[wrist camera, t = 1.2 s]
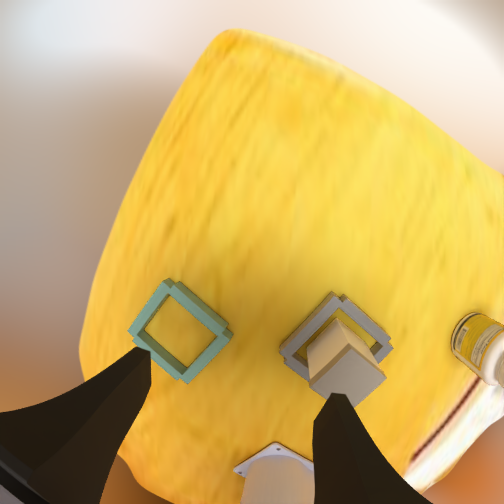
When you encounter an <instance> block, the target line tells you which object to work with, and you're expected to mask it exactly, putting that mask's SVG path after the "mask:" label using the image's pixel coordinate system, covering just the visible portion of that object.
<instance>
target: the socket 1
mask: <svg viewBox="0 0 504 504" xmlns="http://www.w3.org/2000/svg"><path fill="white" fill-rule="evenodd" d="M169 295H171V296H172V297H173V298H174V299H175V300H176V301H177V302H178V303H180V304H181V305H182V306H183V307H184V308H185V309H186V310H187V311H189V312H190V313H191V314H192V315H193V316H194V317H195V318H197V319H198V320H199V321H200V322H201V323H202V324H204V325H205V326H206V327H207V328H208V329H209V330H211V331H212V332H213V333H214V334H215V335H217V337H216V338H215V339H214V340H213V341H212V342H211V343H210V344H209V346H208V347H207V348H206V349H205V350H204V351H203V352H202V353H201V354H200V355H199V356H198V357H197V358H196V360H195V361H194V362H193V363H192V364H191V365H190V366H189V367H188V368H186V367H185V366H184V365H183V364H181V363H180V362H179V361H178V360H177V359H175V358H174V357H173V356H172V355H171V354H170V353H168V352H167V351H166V350H165V349H164V348H163V347H162V346H161V345H159V344H158V343H157V342H156V341H155V340H154V339H153V338H152V337H151V336H150V335H148V334H147V333H146V332H145V331H144V328H145V327H146V326H147V324H148V323H149V322H150V320H151V319H152V317H153V316H154V315H155V313H156V312H157V311H158V309H159V308H160V307H161V305H162V304H163V303H164V301H165V300H166V299H167V297H168V296H169ZM227 325H228V323H227V322H226V321H225V320H223V319H222V318H221V317H220V316H219V315H218V314H216V313H215V312H214V311H213V310H212V309H211V308H209V307H208V306H207V305H206V304H205V303H204V302H202V301H201V300H200V299H199V298H198V297H197V296H196V295H194V294H193V293H192V292H191V291H190V290H189V289H188V288H187V287H185V286H184V285H183V284H182V283H181V282H180V281H179V282H178V283H176V284H175V283H174V282H173V281H172V280H171V279H169V278H168V279H166V280H164V281H162V283H161V284H160V285H159V287H158V288H157V290H156V291H155V292H154V294H153V295H152V297H151V298H150V299H149V301H148V302H147V304H146V305H145V306H144V308H143V309H142V311H141V312H140V313H139V315H138V316H137V318H136V319H135V321H134V322H133V324H132V325H131V326H130V328H129V329H128V332H129V333H130V334H131V335H132V336H133V337H134V339H133V342H134V343H135V344H136V345H137V346H138V347H140V348H142V349H145V350H148V351H151V359H152V360H154V361H155V362H156V363H157V364H158V365H159V366H160V367H162V368H163V369H164V370H165V371H166V372H167V373H169V374H170V375H171V376H172V377H173V378H175V379H176V380H178V379H179V378H180V379H182V380H183V381H184V382H185V383H187V384H188V383H189V382H190V381H191V380H192V379H193V378H194V377H195V376H196V375H197V374H198V373H199V372H200V371H201V370H202V369H203V368H204V367H205V366H206V365H207V364H208V363H209V362H210V361H211V360H212V359H213V358H214V357H215V356H216V355H217V354H218V353H219V352H220V350H221V349H222V348H223V347H224V346H225V345H226V344H227V343H228V342H229V341H230V340H231V338H232V336H233V333H231V332H230V331H229V330H228V329H227V328H226V327H227Z"/></svg>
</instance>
